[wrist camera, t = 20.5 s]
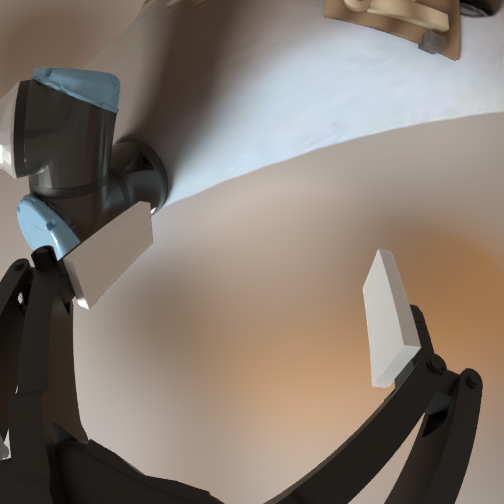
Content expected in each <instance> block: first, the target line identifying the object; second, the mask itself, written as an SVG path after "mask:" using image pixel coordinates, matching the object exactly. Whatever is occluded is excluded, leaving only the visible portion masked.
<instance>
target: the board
mask: <svg viewBox="0 0 504 504" xmlns="http://www.w3.org/2000/svg"><path fill="white" fill-rule="evenodd" d="M409 1H412V2H415V3H418V4H421V5H424V6H427V7H430V8H432V9H435V10H438V11H440V12H443V13H445V14H447V15H448V23H449V29H448V30H446V31H444V32H442V33H439V32H436V31H434V30H431V29H428V28H425V27H422V26H419V25H416V24H413V23H410V22H406V21H403V20H399V19H396V18H392V17H388V16H384V15H379V14H375V13H370V12H367V11H366V12H364V13H354V12H351V11H349V10H348V9H347V8H346V7H345V6H344V5H343V2H342V0H326V2H325V11H324V17H326V18H331V19H336V20H341V21H346V22H350V23H354V24H358V25H362V26H366V27H370V28H373V29H376V30H380V31H383V32H386V33H389V34H392V35H395V36H398V37H401V38H404V39H406V40H409V41H412V42H414V43H417V44H419V45H418V48H419V49H421V50H424V51H426V52H429V53H431V54H435V53H440V54H442V55H444V56H446V57H448V58H450V59H452V60H454V61H456V60H459V49H460V7H459V0H409Z"/></svg>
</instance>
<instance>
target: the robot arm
mask: <svg viewBox="0 0 504 504" xmlns="http://www.w3.org/2000/svg"><path fill="white" fill-rule="evenodd" d="M32 78H33V79H31V80H26V81H20V82H18V83H17V84H16V85H15V86H14V87H13V88H12V89H11V90H10V91H9V93H8V94H6V95H5V96H4V97H0V169H3V170H5V171H6V172H8V173H9V174H10V175H11V176H12V177H13V178H19V177H24V176H29V187H30V193H29V195H25V196H24V197H23V199H22V200H21V201H20V202H19V205H18V207H17V217H18V221H19V225H20V227H21V230H22V233H23V235H24V237H25V239H26V241H27V242H28V244H29V245H30V247H31V248H32V250H33V253H32V254H31V257H32V260H33V263H34V265H35V267H31V266H30V264H29V261H28V260H27V259H25V258H23V259H18V260H16V261H15V262H14V263H13V264H12V265H11V266H10V267H9V269H8V270H7V272H6V274H5V275H4V277H3V279H2V280H1V282H0V504H224V503H223V502H221V501H220V500H218V499H217V498H215V497H213V496H211V495H210V493H209V492H208V491H205V490H202V489H198V488H195V487H192V486H189V485H186V484H184V483H181V482H178V481H174V480H168V479H162V478H156V477H150V476H146V475H144V474H143V473H142V472H140V471H139V470H138V469H136V468H135V467H134V466H132V465H130V464H129V463H128V462H126V461H125V460H124V459H122V458H121V457H120V456H118V455H117V454H116V453H114V452H112V451H110V450H109V449H107V448H105V447H103V446H102V445H100V444H98V443H96V442H95V441H93V440H91V439H90V440H88V437H87V435H86V432H85V431H84V429H83V427H82V425H81V421H80V416H79V409H78V401H77V393H76V384H75V372H74V356H73V302H72V299H73V298H74V297H75V296H76V299H77V301H78V304H79V305H80V306H82V307H85V308H87V309H90V308H91V307H92V306H93V305H94V304H95V303H96V302H97V301H98V299H99V298H100V297H101V296H102V295H103V294H104V293H105V292H106V290H108V288H109V287H110V286H111V285H112V284H113V283H114V282H115V281H116V280H117V279H118V278H119V277H120V276H121V275H122V274H123V273H124V271H125V270H126V269H127V268H128V267H129V266H130V265H131V264H132V263H133V262H134V261H135V260H136V259H137V258H138V257H139V256H140V255H141V254H142V253H143V252H144V251H145V250H146V249H147V248H148V247H149V246H150V245H151V244H152V243H153V234H152V222H151V216H153V215H154V214H155V213H156V212H158V211H159V210H160V208H161V207H162V205H163V204H164V202H165V199H166V195H167V189H168V183H167V175H166V172H165V168H164V166H163V164H162V162H161V160H160V158H159V157H158V155H157V154H156V153H155V152H154V151H153V150H152V149H151V148H150V147H148V146H147V145H145V144H143V143H141V142H138V141H124V142H121V143H118V144H115V145H113V146H112V143H113V135H114V127H115V121H116V115H117V113H118V111H119V109H118V101H119V93H120V81H119V79H118V78H117V77H116V76H115V75H113V74H110V73H104V72H97V71H89V70H79V69H70V68H52V67H38V68H36V69H35V70H34V73H33V74H32ZM363 294H364V301H365V309H366V317H367V325H368V335H369V346H370V358H371V374H372V386H374V387H385V388H388V387H389V386H390V385H391V383H392V382H393V381H394V380H395V389H394V390H393V391H392V392H391V393H390V394H389V395H388V396H387V397H386V398H385V399H384V402H383V403H382V404H381V405H380V406H379V408H377V410H376V411H375V412H374V413H373V414H372V415H371V416H370V417H369V418H368V419H367V420H366V421H365V422H364V424H363V425H362V426H361V427H360V428H359V429H358V430H357V431H356V432H355V433H354V434H353V435H352V436H350V437H349V438H348V439H347V440H346V441H345V442H344V443H343V444H342V445H341V446H340V447H339V448H338V449H337V450H335V451H334V452H333V453H332V454H331V455H330V456H329V457H327V459H325V460H324V461H323V462H322V463H320V464H319V465H318V466H317V467H316V468H314V469H313V470H312V471H311V472H309V473H308V474H307V475H305V476H304V477H303V478H301V479H300V480H299V481H298V482H296V483H295V484H293V485H292V486H290V487H289V488H288V489H286V490H285V491H283V492H282V493H280V494H279V495H277V496H276V497H274V498H272V499H271V500H269V501H267V502H265V503H264V504H348V503H349V502H350V501H351V500H352V499H353V498H354V497H355V496H356V495H357V494H358V493H359V492H360V491H361V490H362V489H363V488H364V487H365V486H366V485H367V484H368V483H369V482H370V481H371V480H372V479H373V478H374V477H375V476H376V474H377V473H378V472H379V471H380V470H381V469H382V468H383V467H384V465H385V464H386V463H387V462H388V461H389V459H390V458H391V457H392V456H393V455H394V453H395V452H396V451H397V450H398V448H399V447H400V446H401V445H402V443H403V442H404V441H405V439H406V438H407V437H408V435H409V434H410V432H411V431H412V429H413V428H414V427H415V425H416V424H417V422H418V421H419V419H420V418H421V416H422V415H423V413H425V415H424V418H423V421H422V424H421V426H420V429H419V432H418V435H417V437H416V440H415V442H414V445H413V447H412V449H411V452H410V454H409V457H408V459H407V461H406V463H405V465H404V467H403V469H402V471H401V473H400V475H399V477H398V479H397V482H396V483H395V485H394V487H393V489H392V491H391V493H390V494H389V496H388V498H387V500H386V501H385V503H384V504H455V501H456V498H457V496H458V493H459V491H460V488H461V485H462V482H463V479H464V476H465V473H466V470H467V466H468V463H469V459H470V455H471V451H472V448H473V443H474V439H475V434H476V429H477V424H478V418H479V412H480V405H481V397H482V388H483V384H482V379H481V377H480V375H479V374H478V373H477V372H476V371H475V370H473V369H470V368H467V369H465V370H464V371H462V373H461V374H460V375H459V374H456V373H454V372H452V371H449V370H447V367H446V364H445V362H444V360H443V359H442V358H441V357H440V356H438V355H437V354H435V353H434V350H433V346H432V343H431V339H430V336H429V332H428V331H427V325H426V324H425V319H424V316H423V313H422V312H421V311H420V310H419V308H418V307H417V306H415V305H410V304H409V302H408V298H407V295H406V292H405V289H404V286H403V283H402V280H401V277H400V274H399V271H398V269H397V266H396V263H395V260H394V258H393V255H392V253H391V251H387V250H383V249H378V251H377V254H376V257H375V259H374V262H373V264H372V267H371V269H370V272H369V274H368V277H367V279H366V282H365V284H364V286H363ZM19 295H20V297H21V299H22V302H21V304H20V303H19V301H18V296H19ZM17 385H18V390H17V393H16V389H17ZM15 393H16V394H15ZM8 428H9V441H10V450H11V458H9V459H4V460H3V458H7V457H8V455H9V449H8V447H7V446H6V445H5V444H4V441H5V438H6V435H7V432H8Z"/></svg>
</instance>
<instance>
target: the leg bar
mask: <svg viewBox="0 0 504 504" xmlns="http://www.w3.org/2000/svg"><path fill="white" fill-rule="evenodd" d="M342 2H343V5H344V6H345V7H346V8H347V9H348V10H349V11H351V12H354V13H364V12H366V11H367V12H370V13H375V14H379V15H384V16H388V17H392V18H396V19H399V20H403V21H406V22H410V23H413V24H416V25H419V26H422V27H425V28H428V29H431V30H434V31H436V32H439V33H442V32H444V31H446V30H448V29H449V23H448V15H447V14H445V13H443V12H440V11H438V10H435V9H432V8H430V7H427V6H424V5H421V4H418V3H415V2H412V1H409V0H342Z"/></svg>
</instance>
